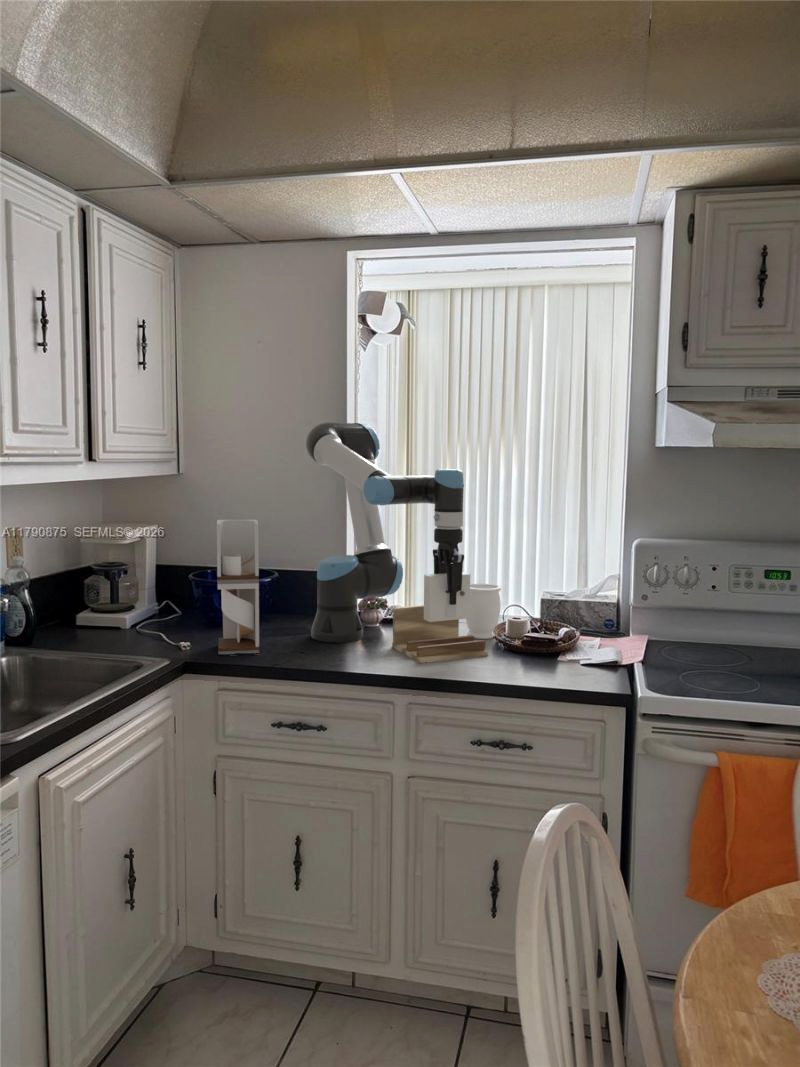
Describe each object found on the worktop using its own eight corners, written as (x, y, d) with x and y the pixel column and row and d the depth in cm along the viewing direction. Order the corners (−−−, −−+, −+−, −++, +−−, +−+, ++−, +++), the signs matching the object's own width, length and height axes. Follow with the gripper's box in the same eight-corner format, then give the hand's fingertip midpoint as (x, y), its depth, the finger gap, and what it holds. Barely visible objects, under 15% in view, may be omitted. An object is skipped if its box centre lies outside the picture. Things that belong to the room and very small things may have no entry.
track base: (392, 647, 222) (392, 607, 221) (455, 640, 230) (456, 602, 229) (420, 663, 206) (421, 620, 204) (487, 655, 214) (488, 614, 213)
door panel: (423, 619, 212) (424, 574, 211) (463, 615, 217) (463, 572, 216) (430, 622, 208) (431, 577, 207) (470, 618, 213) (471, 574, 212)
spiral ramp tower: (218, 645, 221) (217, 519, 218) (257, 643, 223) (257, 519, 220) (218, 655, 210) (216, 523, 206) (259, 654, 212) (258, 523, 209)
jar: (490, 631, 243) (492, 582, 241) (505, 639, 233) (507, 588, 231) (458, 633, 239) (459, 584, 238) (472, 641, 230) (473, 590, 228)
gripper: (421, 525, 217) (420, 610, 219) (450, 531, 202) (449, 622, 204) (446, 524, 220) (444, 608, 222) (476, 530, 205) (474, 619, 207)
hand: (447, 614), depth 213 cm, fingers closed on door panel, 3 cm apart
